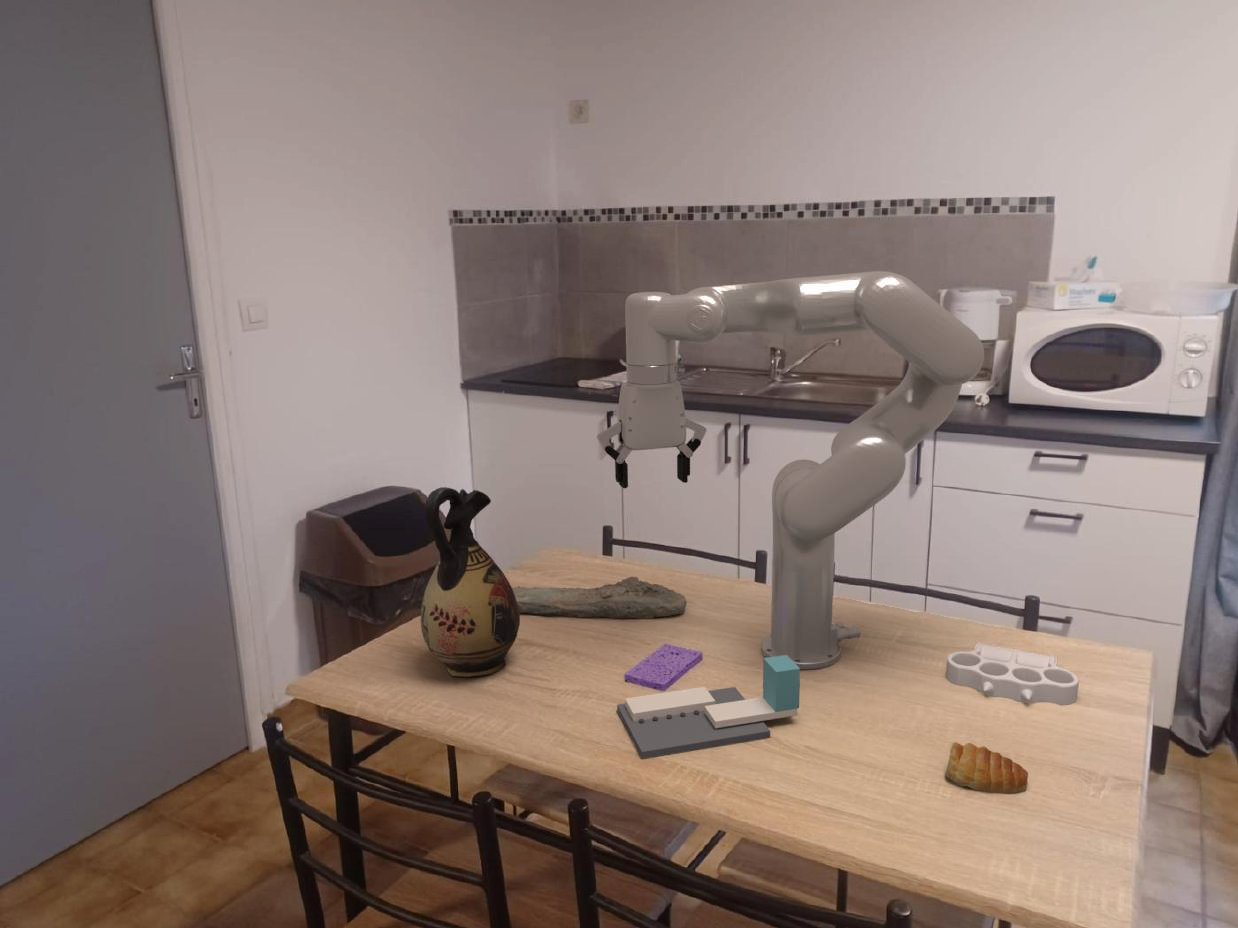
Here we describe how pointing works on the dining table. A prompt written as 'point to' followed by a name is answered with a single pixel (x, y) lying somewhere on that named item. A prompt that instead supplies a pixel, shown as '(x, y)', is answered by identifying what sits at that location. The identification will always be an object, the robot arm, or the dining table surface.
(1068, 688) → the knuckle duster
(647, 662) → the sponges
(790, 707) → the stub
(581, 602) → the elongated rock
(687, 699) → the ticket
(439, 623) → the ceramic jug
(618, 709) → the mat
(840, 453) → the robot arm
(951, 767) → the pastry
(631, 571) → the dining table surface
